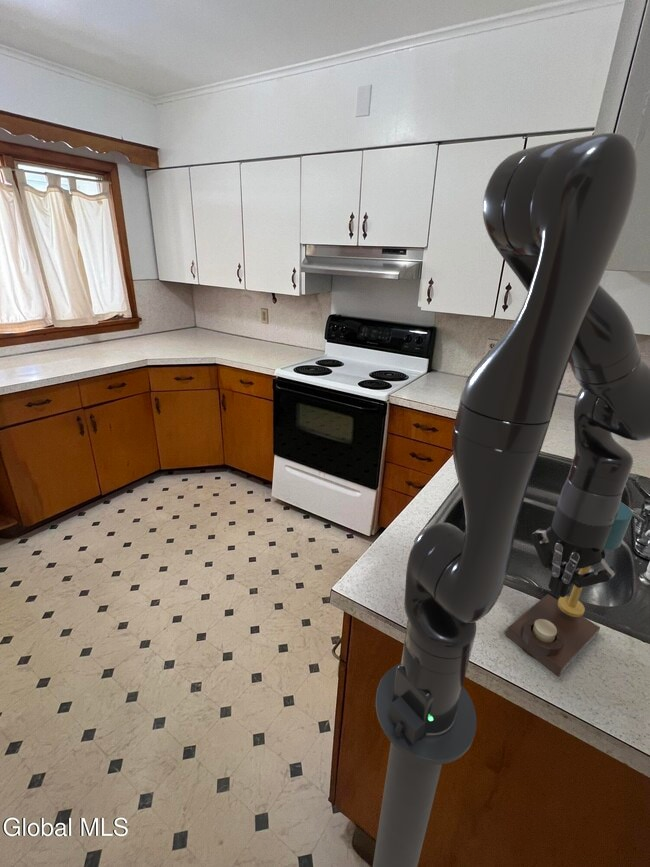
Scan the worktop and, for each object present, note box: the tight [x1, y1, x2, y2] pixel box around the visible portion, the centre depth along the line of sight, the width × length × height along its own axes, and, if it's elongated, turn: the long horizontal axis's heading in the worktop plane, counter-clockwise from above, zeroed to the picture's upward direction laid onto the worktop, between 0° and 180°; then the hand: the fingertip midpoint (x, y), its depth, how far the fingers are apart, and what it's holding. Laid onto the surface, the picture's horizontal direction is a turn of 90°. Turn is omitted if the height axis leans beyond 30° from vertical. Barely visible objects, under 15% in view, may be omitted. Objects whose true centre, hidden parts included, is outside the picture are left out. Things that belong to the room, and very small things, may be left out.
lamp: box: [557, 502, 634, 617], centre depth 75 cm, size 7×7×23 cm
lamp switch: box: [532, 619, 557, 643], centre depth 75 cm, size 4×4×2 cm
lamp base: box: [505, 593, 601, 677], centre depth 78 cm, size 15×10×4 cm
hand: (557, 593), depth 71 cm, fingers closed
